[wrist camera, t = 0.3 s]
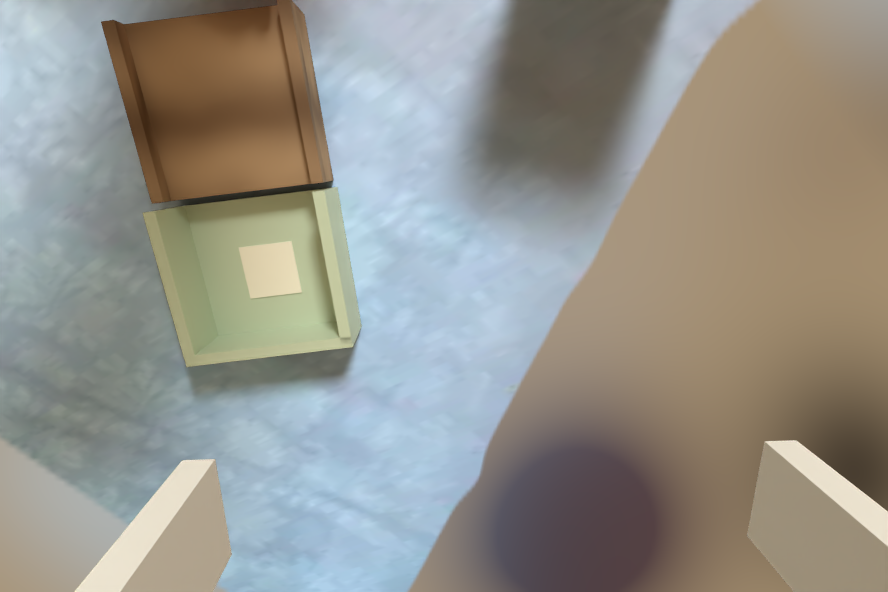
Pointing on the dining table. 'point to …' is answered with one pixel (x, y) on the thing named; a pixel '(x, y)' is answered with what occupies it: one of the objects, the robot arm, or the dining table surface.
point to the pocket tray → (257, 276)
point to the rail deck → (221, 101)
